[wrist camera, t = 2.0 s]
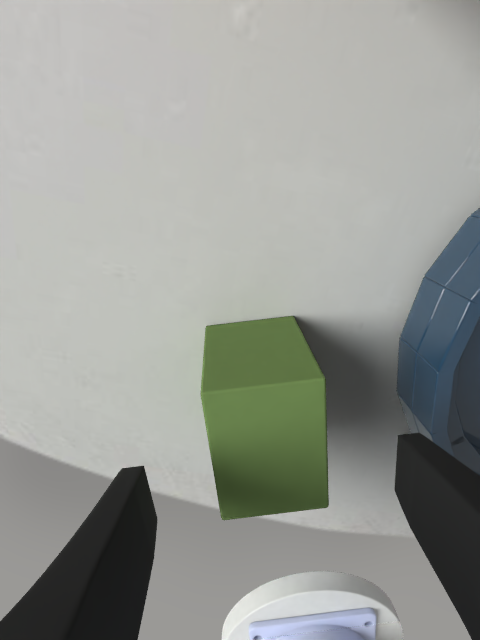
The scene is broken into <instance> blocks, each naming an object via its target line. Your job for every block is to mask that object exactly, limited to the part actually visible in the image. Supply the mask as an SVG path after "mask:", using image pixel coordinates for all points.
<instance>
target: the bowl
mask: <svg viewBox="0 0 480 640" xmlns="http://www.w3.org/2000/svg"><path fill="white" fill-rule="evenodd" d="M397 392H398V397H399V400H400V403H401V406H402V409H403V412H404V415H405V418H406V421H407V424H408V427H409V430H410V433H411V434H412V433H421V434H423V435H424V436H425V437H427V438H428V439H430V440H431V441H432V442H434V443H435V444H437V445H438V446H439V447H441V448H442V449H443V450H445V451H446V452H447V453H449V454H450V455H452V456H453V457H454V458H456V459H457V460H458V461H460V462H461V463H463V464H464V465H465V466H467V467H468V468H470V469H471V470H472V471H474V472H475V473H477V474H478V475H480V208H479V209H478V210H476V211H475V212H474V213H473V214H471V216H470V217H468V219H467V220H466V221H465V223H464V224H463V225H462V227H461V228H460V229H459V231H458V232H457V233H456V235H455V236H454V237H453V239H452V240H451V241H450V242H449V244H448V245H447V246H446V248H445V249H444V250H443V252H442V253H441V254H440V256H439V257H438V258H437V260H436V261H435V262H434V264H433V265H432V266H431V268H430V269H429V270H428V271H427V273H426V274H425V277H424V278H423V280H422V283H421V285H420V288H419V290H418V293H417V295H416V298H415V300H414V303H413V305H412V308H411V310H410V313H409V315H408V318H407V320H406V323H405V326H404V328H403V331H402V333H401V337H400V341H399V358H398V375H397Z"/></svg>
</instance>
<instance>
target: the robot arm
mask: <svg viewBox="0 0 480 640" xmlns="http://www.w3.org/2000/svg"><path fill="white" fill-rule="evenodd" d="M395 492H396V495H397V497H398V500H399V502H400V505H401V507H402V509H403V512H404V514H405V516H406V519H407V521H408V523H409V526H410V528H411V529H412V531H413V533H414V535H415V537H416V539H417V540H418V542H419V544H420V546H421V547H422V549H423V551H424V553H425V555H426V557H427V558H428V560H429V561H430V564H431V565H432V567H433V569H434V571H435V573H436V574H437V576H438V578H439V580H440V581H441V583H442V585H443V587H444V589H445V590H446V592H447V594H448V596H449V597H450V599H451V601H452V603H453V605H454V606H455V608H456V610H457V612H458V613H459V615H460V617H461V619H462V621H463V623H464V625H465V627H466V629H467V631H468V633H469V635H470V636H471V639H472V640H480V475H478V474H477V473H475V472H474V471H472V470H471V469H470V468H468V467H467V466H465V465H464V464H463V463H461V462H460V461H458V460H457V459H456V458H454V457H453V456H452V455H450V454H449V453H447V452H446V451H445V450H443V449H442V448H441V447H439V446H438V445H437V444H435V443H434V442H432V441H431V440H430V439H428V438H427V437H425V436H424V435H423V434H421V433H412V434H403V435H398V446H397V461H396V477H395ZM156 530H157V516H156V512H155V508H154V504H153V500H152V496H151V492H150V488H149V484H148V480H147V476H146V473H145V469H144V466H138V467H130V468H122V469H121V470H120V472H119V473H118V474H117V476H116V477H115V479H114V480H113V481H112V483H111V484H110V486H109V487H108V489H107V490H106V492H105V493H104V495H103V496H102V497H101V499H100V500H99V502H98V503H97V504H96V506H95V507H94V509H93V510H92V512H91V513H90V514H89V515H88V517H87V518H86V520H85V521H84V522H83V524H82V525H81V526H80V528H79V529H78V530H77V532H76V533H75V535H74V536H73V537H72V538H71V540H70V541H69V542H68V543H67V545H66V546H65V547H64V549H63V550H62V551H61V553H59V555H58V556H57V557H56V559H55V560H54V561H53V562H52V563H51V565H50V566H49V567H48V568H47V570H46V571H45V572H44V573H43V574H42V576H41V577H40V578H39V579H38V580H37V581H36V583H35V584H34V585H33V586H32V587H31V588H30V590H29V591H28V592H27V593H26V594H25V595H24V596H23V597H22V599H21V600H20V601H19V602H18V603H17V604H16V605H15V606H14V607H13V608H12V610H11V611H10V612H9V613H8V614H7V615H6V616H5V617H4V618H3V619H2V620H1V621H0V640H137V639H138V634H139V629H140V624H141V620H142V615H143V610H144V605H145V600H146V595H147V590H148V585H149V580H150V575H151V570H152V565H153V559H154V550H155V541H156ZM376 619H377V617H376V614H375V611H374V610H373V609H372V608H360V609H352V610H344V611H336V612H328V613H320V614H312V615H304V616H296V617H288V618H280V619H272V620H264V621H256V622H253V623H251V624H250V625H249V637H250V640H375V639H376Z"/></svg>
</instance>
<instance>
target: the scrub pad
mask: <svg viewBox="0 0 480 640" xmlns="http://www.w3.org/2000/svg"><path fill="white" fill-rule="evenodd" d="M201 399H202V405H203V411H204V417H205V423H206V429H207V435H208V441H209V447H210V453H211V459H212V465H213V471H214V477H215V483H216V489H217V495H218V501H219V507H220V513H221V518H222V520H230V519H237V518H246V517H254V516H262V515H270V514H279V513H287V512H295V511H303V510H311V509H319V508H327V507H328V505H329V500H328V455H327V410H326V379H325V377H324V375H323V373H322V371H321V369H320V367H319V365H318V363H317V361H316V359H315V357H314V355H313V353H312V351H311V349H310V347H309V345H308V343H307V341H306V339H305V338H304V336H303V334H302V332H301V330H300V328H299V326H298V324H297V322H296V320H295V318H294V316H288V317H280V318H271V319H262V320H254V321H245V322H237V323H228V324H220V325H211V326H206V330H205V344H204V357H203V370H202V383H201Z"/></svg>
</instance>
